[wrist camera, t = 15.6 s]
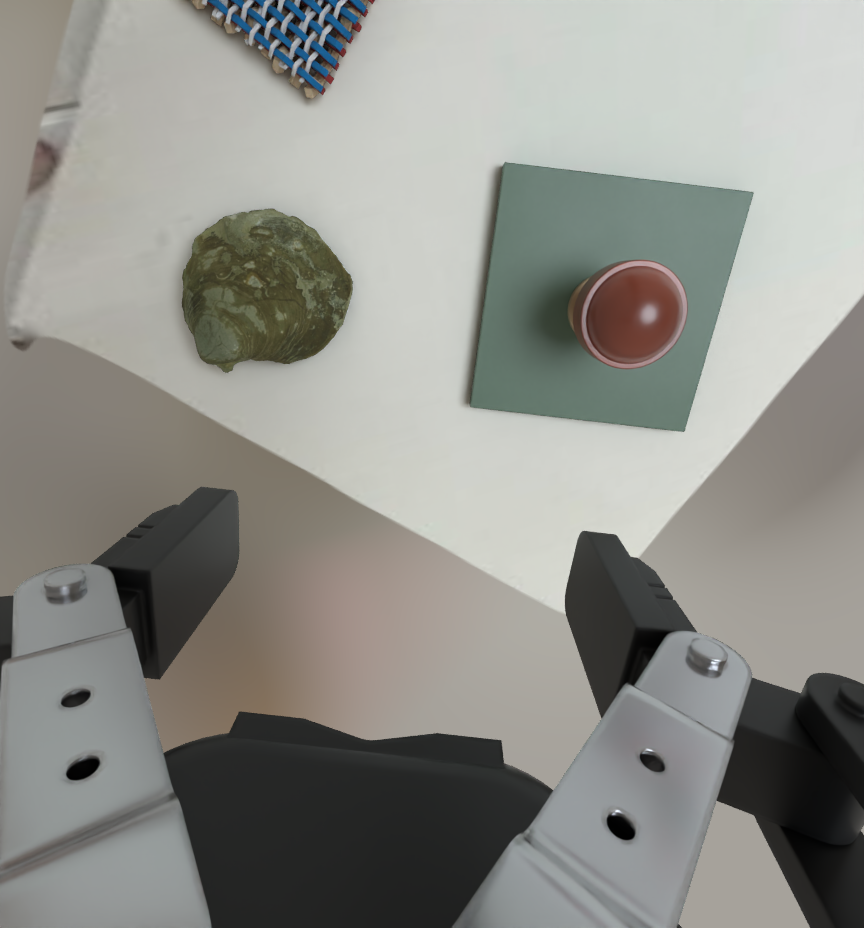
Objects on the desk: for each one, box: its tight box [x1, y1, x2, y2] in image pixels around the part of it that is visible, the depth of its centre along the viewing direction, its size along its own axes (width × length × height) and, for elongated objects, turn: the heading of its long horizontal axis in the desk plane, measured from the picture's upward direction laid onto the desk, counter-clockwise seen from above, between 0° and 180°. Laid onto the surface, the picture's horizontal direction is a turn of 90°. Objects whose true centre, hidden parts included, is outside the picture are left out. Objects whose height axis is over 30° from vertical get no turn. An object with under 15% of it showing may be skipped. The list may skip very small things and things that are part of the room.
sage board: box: [470, 162, 754, 432], centre depth 36 cm, size 16×16×1 cm
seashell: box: [182, 209, 353, 373], centre depth 36 cm, size 10×7×10 cm
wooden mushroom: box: [568, 260, 688, 369], centre depth 32 cm, size 6×6×9 cm
